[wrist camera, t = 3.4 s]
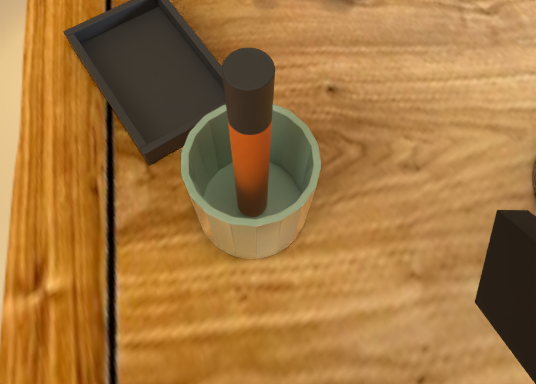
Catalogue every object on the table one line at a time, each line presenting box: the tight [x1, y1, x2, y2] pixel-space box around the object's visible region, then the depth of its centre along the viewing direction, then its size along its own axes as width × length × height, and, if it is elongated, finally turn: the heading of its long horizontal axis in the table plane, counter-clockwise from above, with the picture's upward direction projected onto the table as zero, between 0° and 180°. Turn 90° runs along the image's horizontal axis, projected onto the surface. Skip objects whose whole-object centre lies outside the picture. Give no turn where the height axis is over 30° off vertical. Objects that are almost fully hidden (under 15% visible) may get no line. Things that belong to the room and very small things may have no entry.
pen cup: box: [181, 104, 321, 259], centre depth 32 cm, size 9×9×8 cm
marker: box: [222, 48, 275, 217], centre depth 27 cm, size 2×2×17 cm
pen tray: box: [64, 0, 226, 165], centre depth 40 cm, size 15×10×2 cm, turn 35°
